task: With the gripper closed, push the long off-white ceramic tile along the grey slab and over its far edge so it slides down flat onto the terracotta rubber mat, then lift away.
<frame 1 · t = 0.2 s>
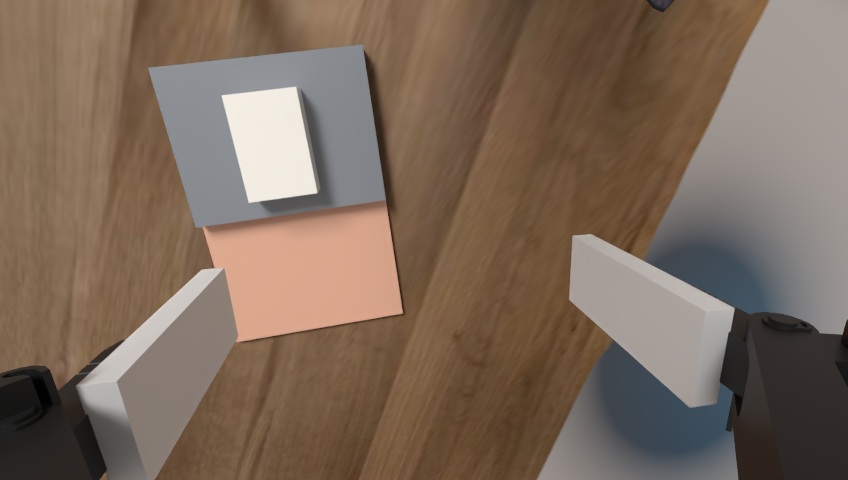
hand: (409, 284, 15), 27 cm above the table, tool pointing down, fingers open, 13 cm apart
mat: (309, 270, 43), on the table
tile: (277, 144, 37), point 2 cm above the table, touching grey slab
grey slab: (280, 138, 39), on the table
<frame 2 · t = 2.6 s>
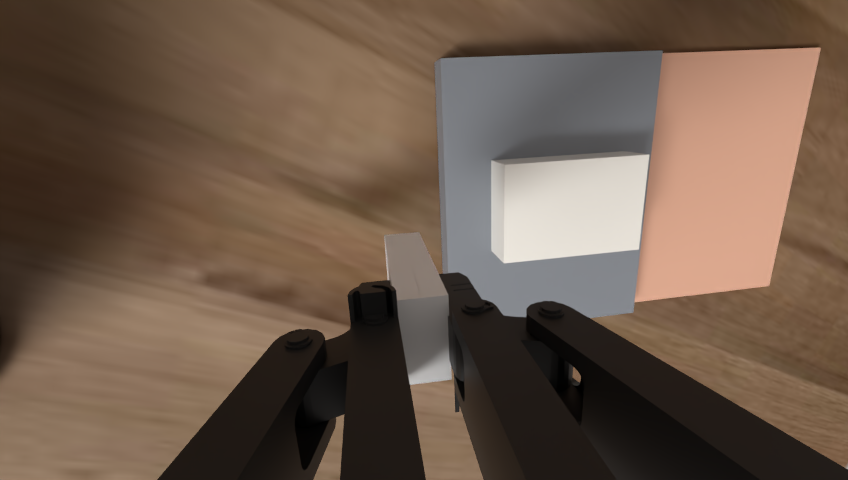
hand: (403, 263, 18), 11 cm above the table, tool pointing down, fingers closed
mat: (710, 182, 31), on the table
tile: (556, 201, 27), point 2 cm above the table, touching grey slab
grey slab: (537, 196, 29), on the table
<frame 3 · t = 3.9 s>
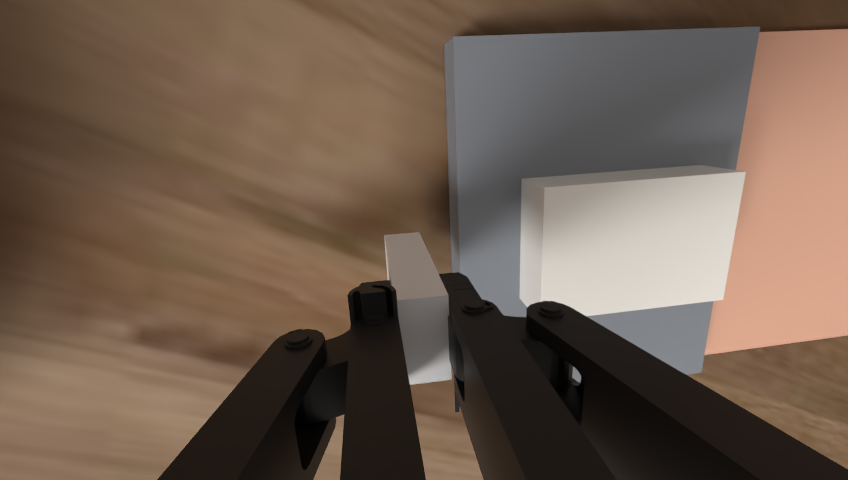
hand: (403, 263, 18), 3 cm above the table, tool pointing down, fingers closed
mat: (802, 203, 24), on the table
tile: (608, 232, 20), point 2 cm above the table, touching grey slab
grey slab: (578, 223, 22), on the table
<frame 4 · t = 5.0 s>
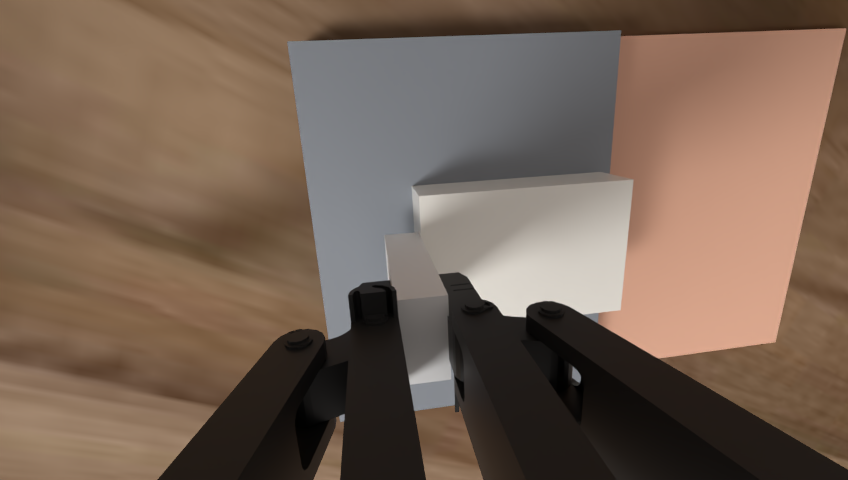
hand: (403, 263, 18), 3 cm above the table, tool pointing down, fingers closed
mat: (696, 210, 23), on the table
tile: (508, 240, 20), point 2 cm above the table, touching gripper
grey slab: (458, 232, 21), on the table
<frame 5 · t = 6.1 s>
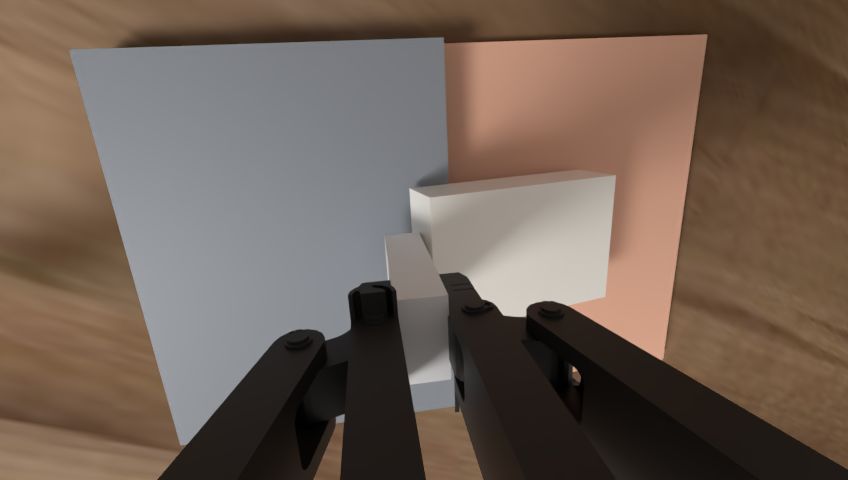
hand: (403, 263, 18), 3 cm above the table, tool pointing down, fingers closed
mat: (565, 224, 22), on the table
tile: (499, 239, 20), point 1 cm above the table, tilted 12°, touching gripper
grey slab: (305, 247, 20), on the table
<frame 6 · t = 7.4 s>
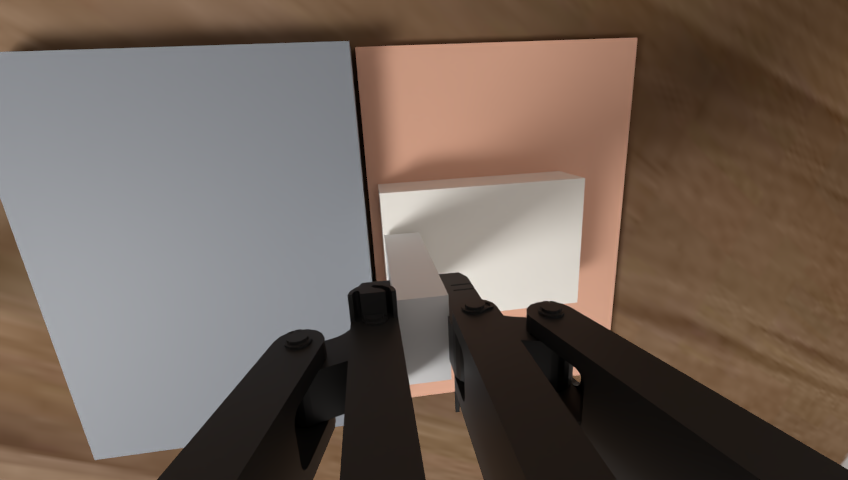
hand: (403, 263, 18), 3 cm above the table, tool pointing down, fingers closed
mat: (498, 232, 21), on the table
tile: (472, 236, 21), resting on mat, touching gripper
grey slab: (223, 257, 20), on the table
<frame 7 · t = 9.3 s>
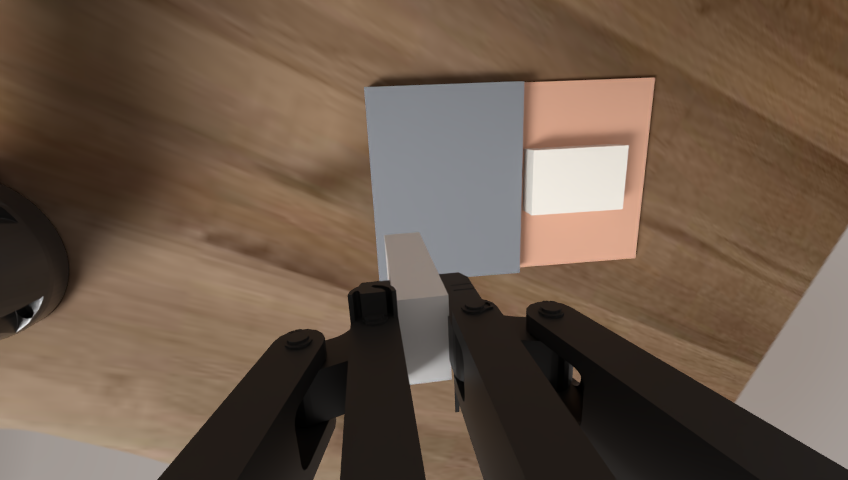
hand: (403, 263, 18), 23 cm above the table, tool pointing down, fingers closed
mat: (580, 176, 41), on the table
tile: (567, 177, 40), resting on mat
grey slab: (445, 184, 40), on the table
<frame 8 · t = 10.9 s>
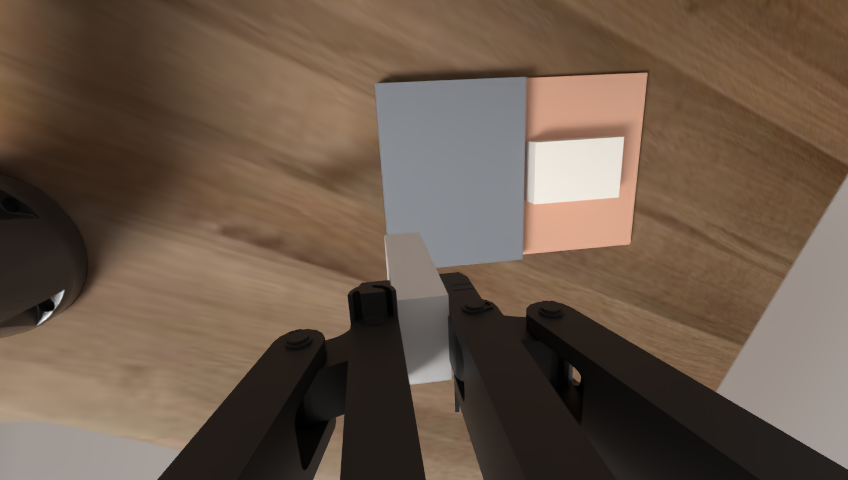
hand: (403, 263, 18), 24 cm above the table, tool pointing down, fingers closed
mat: (578, 167, 43), on the table
tile: (566, 167, 43), resting on mat
grey slab: (451, 176, 42), on the table
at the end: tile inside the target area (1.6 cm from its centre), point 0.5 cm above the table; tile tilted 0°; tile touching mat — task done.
